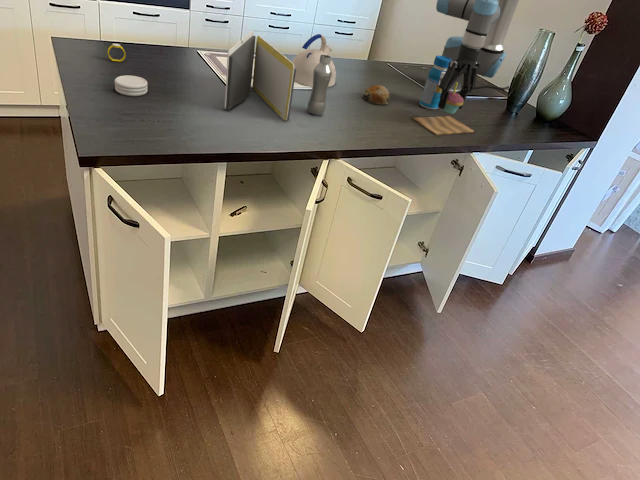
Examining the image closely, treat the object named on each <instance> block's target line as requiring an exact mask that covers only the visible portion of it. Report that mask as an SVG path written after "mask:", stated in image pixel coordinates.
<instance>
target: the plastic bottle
mask: <svg viewBox="0 0 640 480" xmlns="http://www.w3.org/2000/svg"><path fill="white" fill-rule="evenodd" d="M330 60H332V57H331V56H330V55H321V56H320V59H319V61H320V63H319V64H318V65H317V66H316V67H315V68H314V72H313V87H311V92H310V96H309V99H308V102H307V111H308V112H309V113H310V114H312V115H317V116H318V115H323V113H324V112H325V110H326V107H327V101H326V100H327V93H328V88H329V87H328V85H329V82H330V79H331V75H332V71H331V68H330V65H329V63H330Z"/></svg>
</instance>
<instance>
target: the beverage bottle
mask: <svg viewBox="0 0 640 480" xmlns="http://www.w3.org/2000/svg"><path fill="white" fill-rule="evenodd" d="M450 61H452V59H450V58H448V57H445V56H442V55H435V57H434V61H433V66H432V68H430V70H429V71H428V76H427V77H426V79H425V84H424V87H423V90H422V93H421V97H420V100H419V105H420V107H423V108H424V109H428V110H432V111H433V110H438V109H439V107H438V104H439V101H440V95H441V92H442V89H441V88H439V85H440V83H441V81H442V79H443V77H444V75H445V73H446V71H447V68H448V65H449V62H450Z"/></svg>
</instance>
